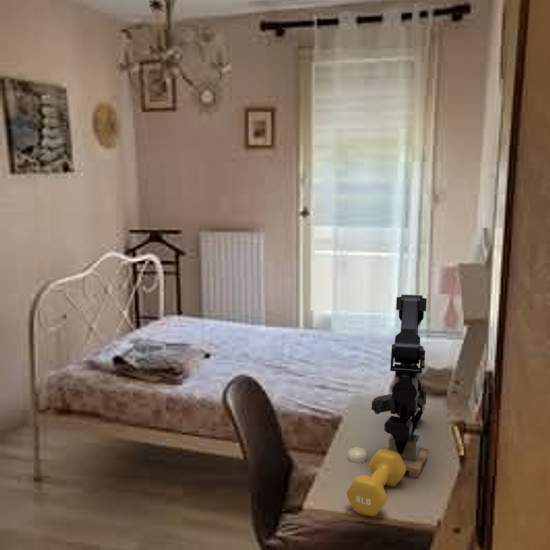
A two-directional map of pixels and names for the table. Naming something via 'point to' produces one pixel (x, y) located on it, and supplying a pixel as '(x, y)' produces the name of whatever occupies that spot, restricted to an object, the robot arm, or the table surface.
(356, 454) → the cream rounded piece
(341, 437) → the table surface
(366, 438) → the table surface
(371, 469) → the dumbbell
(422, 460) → the tan flat board
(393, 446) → the housing
